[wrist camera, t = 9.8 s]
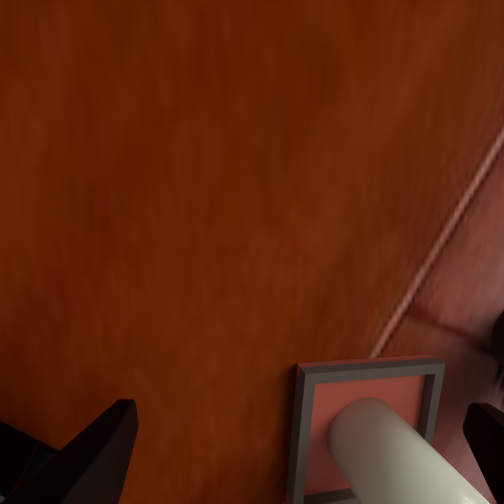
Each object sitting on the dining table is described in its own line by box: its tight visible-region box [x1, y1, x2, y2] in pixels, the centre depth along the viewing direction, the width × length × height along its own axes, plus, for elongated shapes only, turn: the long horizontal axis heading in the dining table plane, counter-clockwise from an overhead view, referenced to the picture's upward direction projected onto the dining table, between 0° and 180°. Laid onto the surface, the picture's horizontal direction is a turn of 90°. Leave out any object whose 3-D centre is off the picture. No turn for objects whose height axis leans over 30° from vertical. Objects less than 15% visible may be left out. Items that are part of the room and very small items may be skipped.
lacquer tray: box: [285, 354, 446, 504], centre depth 25 cm, size 12×12×2 cm
